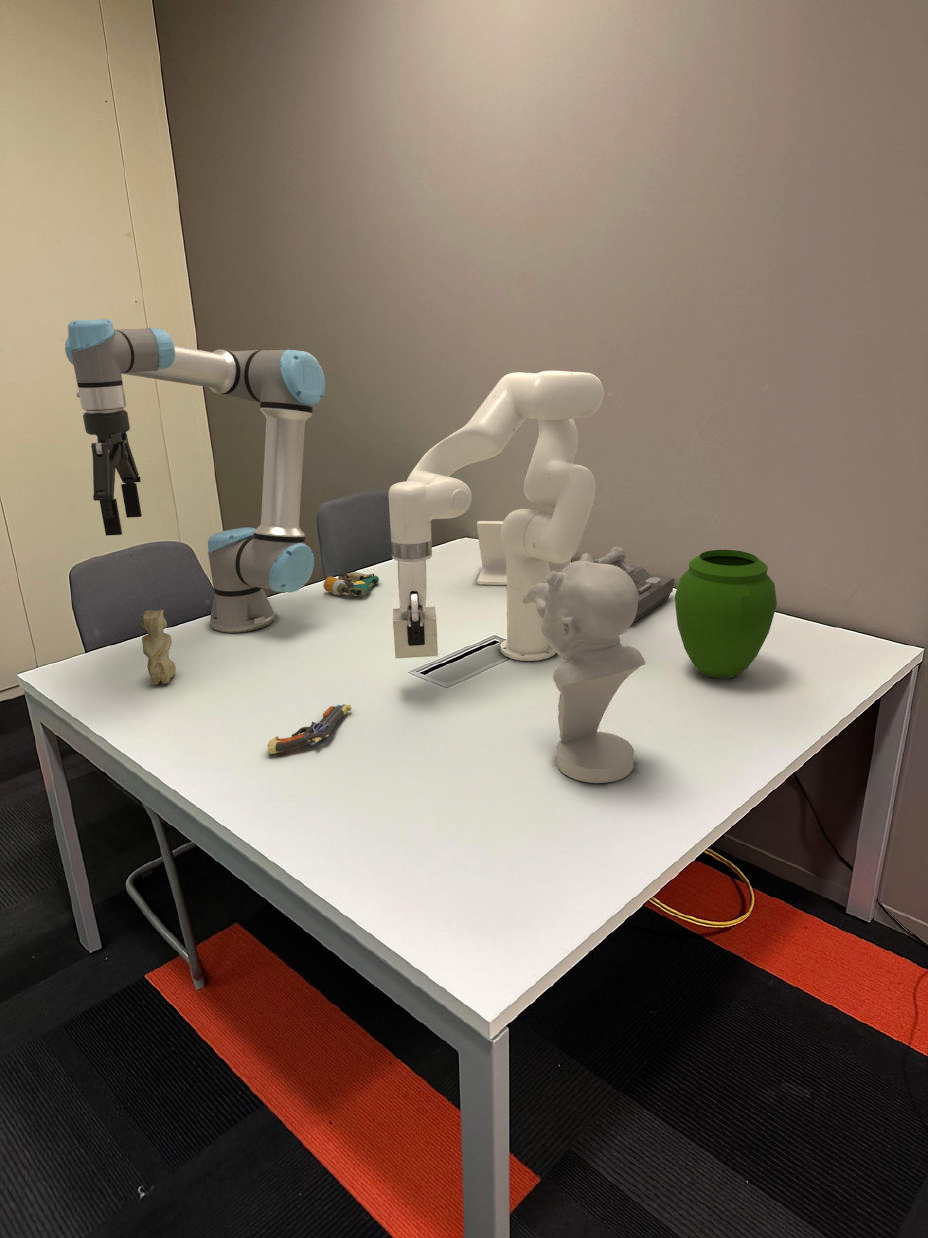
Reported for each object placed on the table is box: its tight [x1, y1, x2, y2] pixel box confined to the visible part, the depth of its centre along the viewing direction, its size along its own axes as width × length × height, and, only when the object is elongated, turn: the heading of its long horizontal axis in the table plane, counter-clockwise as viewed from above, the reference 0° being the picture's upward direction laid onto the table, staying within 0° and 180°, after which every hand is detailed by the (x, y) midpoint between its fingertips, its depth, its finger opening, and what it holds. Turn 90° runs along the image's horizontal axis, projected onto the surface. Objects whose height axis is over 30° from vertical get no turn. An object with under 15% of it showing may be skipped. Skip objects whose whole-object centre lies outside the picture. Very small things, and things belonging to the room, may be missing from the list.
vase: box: [674, 549, 778, 680], centre depth 171 cm, size 20×20×24 cm
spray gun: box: [323, 571, 380, 597], centre depth 231 cm, size 4×17×15 cm
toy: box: [593, 546, 676, 624], centre depth 212 cm, size 25×20×15 cm
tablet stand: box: [476, 520, 572, 586], centre depth 236 cm, size 18×25×17 cm
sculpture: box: [141, 608, 177, 685], centre depth 176 cm, size 6×7×15 cm
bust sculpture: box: [522, 553, 646, 784], centre depth 140 cm, size 16×24×35 cm, turn 28°
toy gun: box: [267, 703, 352, 755], centre depth 155 cm, size 3×19×10 cm
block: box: [392, 606, 439, 659], centre depth 165 cm, size 7×8×8 cm
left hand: (124, 525), depth 161 cm, fingers open, 13 cm apart
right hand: (416, 636), depth 165 cm, fingers closed on block, 6 cm apart
